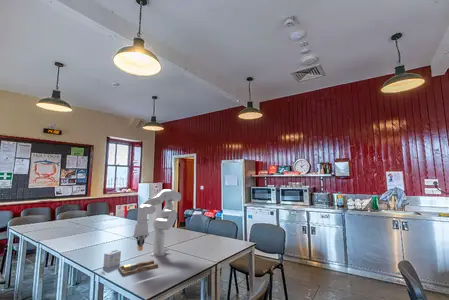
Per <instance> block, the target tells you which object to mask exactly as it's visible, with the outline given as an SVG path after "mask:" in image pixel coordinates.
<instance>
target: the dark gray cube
mask: <svg viewBox="0 0 449 300" xmlns="http://www.w3.org/2000/svg"><path fill="white" fill-rule="evenodd" d="M136 264H137V263H135V262H134V263H129V265H130V266H131V268H130V271H133V270H136Z"/></svg>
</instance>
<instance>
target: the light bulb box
mask: <svg viewBox="0 0 449 300" xmlns="http://www.w3.org/2000/svg"><path fill="white" fill-rule="evenodd" d="M121 253H122V251H121V250H118V249H114V250H112V251H108V252H105V253H103V254H104V255H103V266H102V267H103V268H108V269H111V268H113V267H115V266H117V265H120V264H121V256H122V255H121Z"/></svg>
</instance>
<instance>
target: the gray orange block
mask: <svg viewBox="0 0 449 300" xmlns="http://www.w3.org/2000/svg"><path fill="white" fill-rule="evenodd" d="M143 238H144V236H140V237H139V240H140V245H138V244H137V245H136V246H137V247H136V249H137V251H138V252H139V251H143V249H144V247H143Z"/></svg>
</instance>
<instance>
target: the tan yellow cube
mask: <svg viewBox="0 0 449 300" xmlns="http://www.w3.org/2000/svg"><path fill="white" fill-rule="evenodd" d="M129 264H130V263H129ZM129 264H128V263H127V264H124V265H122V266H123V269H122V271H123V272H128V271H130V268H131V266H130V265H129Z"/></svg>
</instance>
